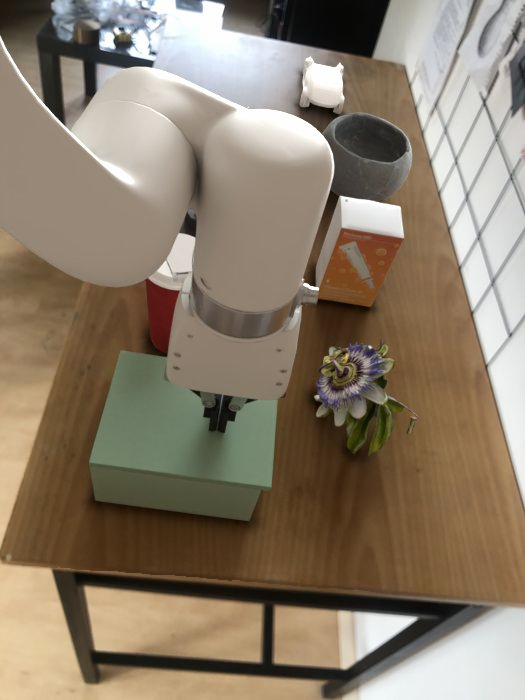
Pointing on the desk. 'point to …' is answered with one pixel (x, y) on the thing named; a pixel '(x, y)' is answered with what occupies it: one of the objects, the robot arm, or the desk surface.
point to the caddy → (173, 494)
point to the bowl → (367, 156)
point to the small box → (358, 250)
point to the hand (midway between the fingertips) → (218, 418)
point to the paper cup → (168, 289)
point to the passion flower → (359, 394)
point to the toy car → (322, 86)
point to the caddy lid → (180, 431)
